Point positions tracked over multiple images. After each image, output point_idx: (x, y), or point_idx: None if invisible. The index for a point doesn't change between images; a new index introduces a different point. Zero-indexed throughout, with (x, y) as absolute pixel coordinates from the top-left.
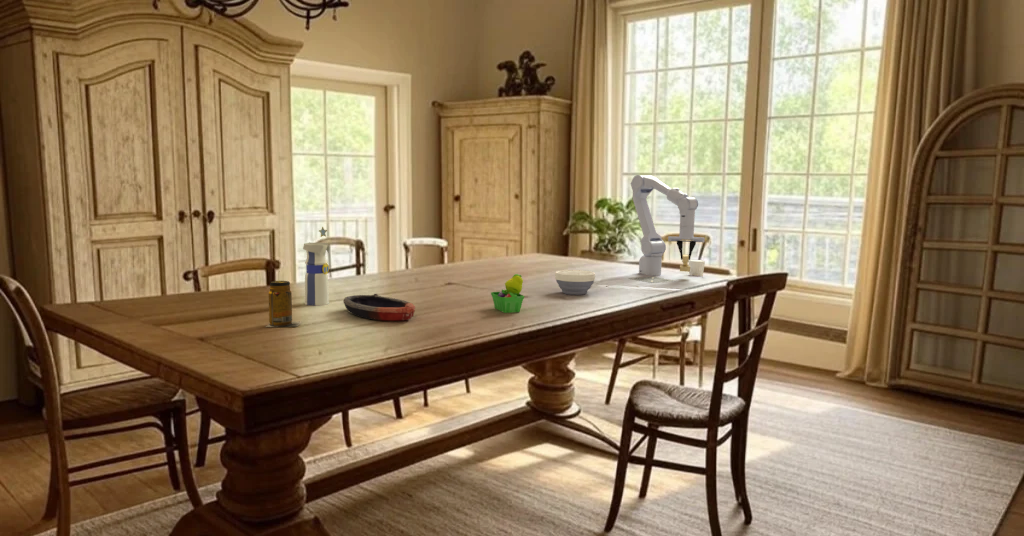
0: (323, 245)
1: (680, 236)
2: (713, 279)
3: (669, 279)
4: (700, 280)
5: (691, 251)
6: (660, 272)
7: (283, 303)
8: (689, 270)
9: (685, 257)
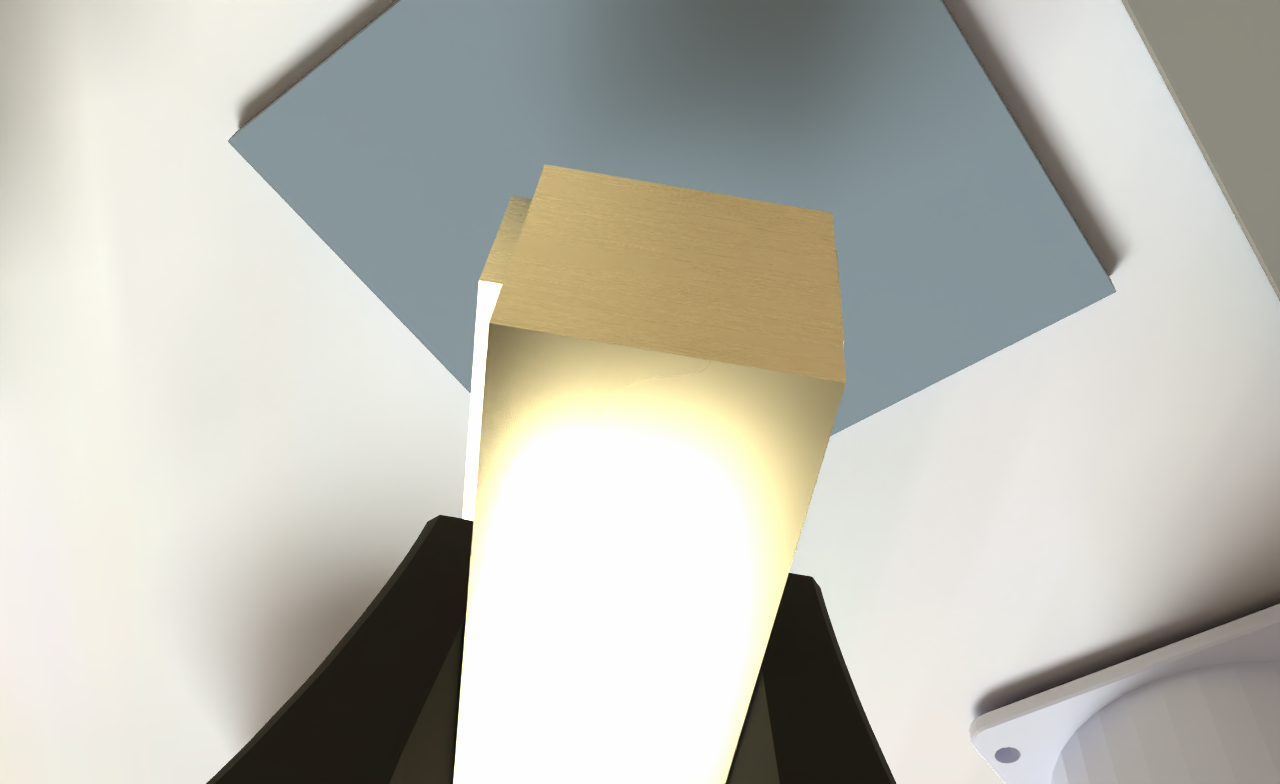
0: None
1: None
2: (32, 543)
3: (1162, 37)
4: (281, 390)
5: (255, 778)
6: (1106, 777)
7: None
8: (523, 216)
9: (681, 316)
